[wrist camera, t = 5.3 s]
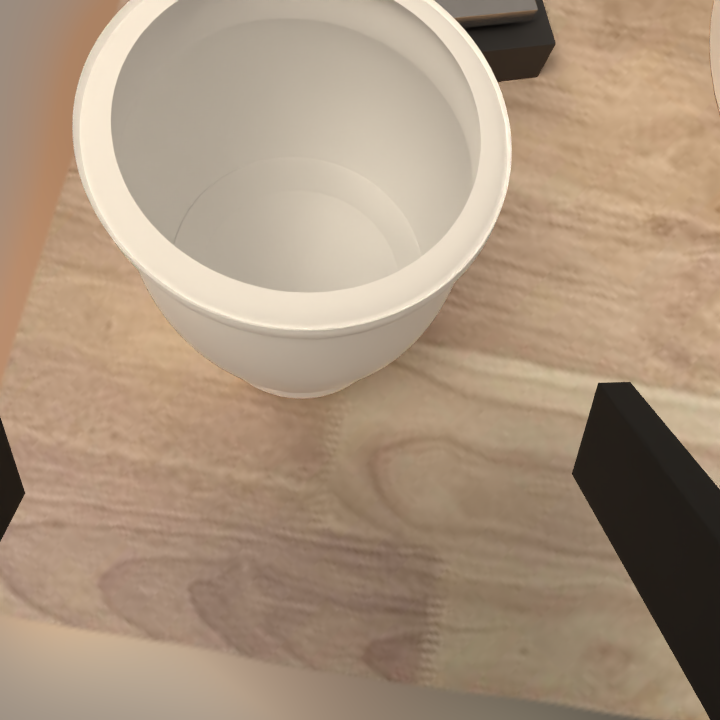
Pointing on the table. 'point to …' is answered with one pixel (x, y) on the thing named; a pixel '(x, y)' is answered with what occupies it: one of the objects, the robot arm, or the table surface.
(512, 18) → the scale platform
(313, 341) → the jar
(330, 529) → the table surface
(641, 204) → the table surface
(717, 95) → the cable organizer
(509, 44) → the scale
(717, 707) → the robot arm
